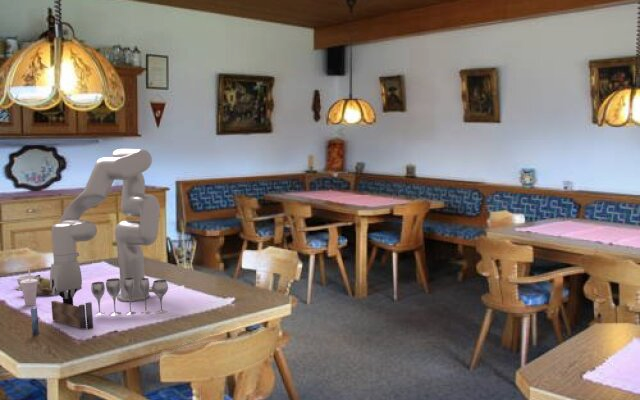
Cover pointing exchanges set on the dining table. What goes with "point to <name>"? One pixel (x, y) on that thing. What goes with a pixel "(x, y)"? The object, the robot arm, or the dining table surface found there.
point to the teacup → (23, 279)
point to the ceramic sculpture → (43, 285)
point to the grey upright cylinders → (35, 318)
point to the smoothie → (29, 290)
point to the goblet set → (129, 292)
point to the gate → (69, 314)
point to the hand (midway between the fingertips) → (68, 308)
